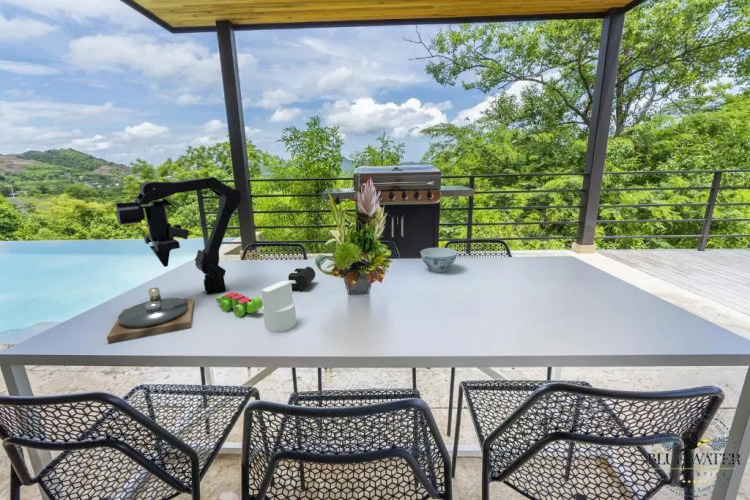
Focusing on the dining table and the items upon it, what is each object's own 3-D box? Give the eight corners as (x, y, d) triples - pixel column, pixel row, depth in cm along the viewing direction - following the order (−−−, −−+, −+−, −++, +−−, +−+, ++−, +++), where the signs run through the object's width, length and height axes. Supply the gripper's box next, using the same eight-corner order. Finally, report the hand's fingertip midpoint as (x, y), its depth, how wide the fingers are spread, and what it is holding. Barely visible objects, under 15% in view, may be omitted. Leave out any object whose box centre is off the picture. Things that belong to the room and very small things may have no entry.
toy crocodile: (213, 307, 117) (210, 290, 115) (231, 300, 122) (228, 284, 120) (248, 321, 105) (246, 303, 104) (267, 313, 110) (265, 295, 109)
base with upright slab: (280, 334, 97) (275, 293, 94) (258, 327, 101) (253, 288, 98) (302, 321, 104) (299, 283, 101) (281, 315, 109) (277, 278, 106)
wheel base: (194, 303, 120) (193, 297, 119) (191, 327, 102) (190, 320, 102) (124, 315, 112) (123, 308, 112) (108, 343, 95) (106, 336, 94)
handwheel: (124, 309, 111) (120, 293, 109) (187, 297, 119) (185, 282, 117) (114, 333, 95) (109, 315, 94) (188, 318, 103) (185, 301, 102)
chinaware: (460, 274, 141) (460, 256, 139) (422, 275, 141) (422, 257, 139) (452, 264, 155) (453, 247, 153) (418, 264, 156) (418, 248, 154)
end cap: (307, 292, 127) (306, 274, 126) (289, 291, 128) (287, 274, 127) (316, 282, 137) (315, 266, 135) (298, 282, 138) (297, 266, 136)
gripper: (193, 220, 113) (200, 266, 117) (176, 214, 126) (183, 256, 130) (153, 225, 106) (163, 274, 110) (140, 219, 119) (148, 263, 123)
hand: (165, 266), depth 118 cm, fingers closed
